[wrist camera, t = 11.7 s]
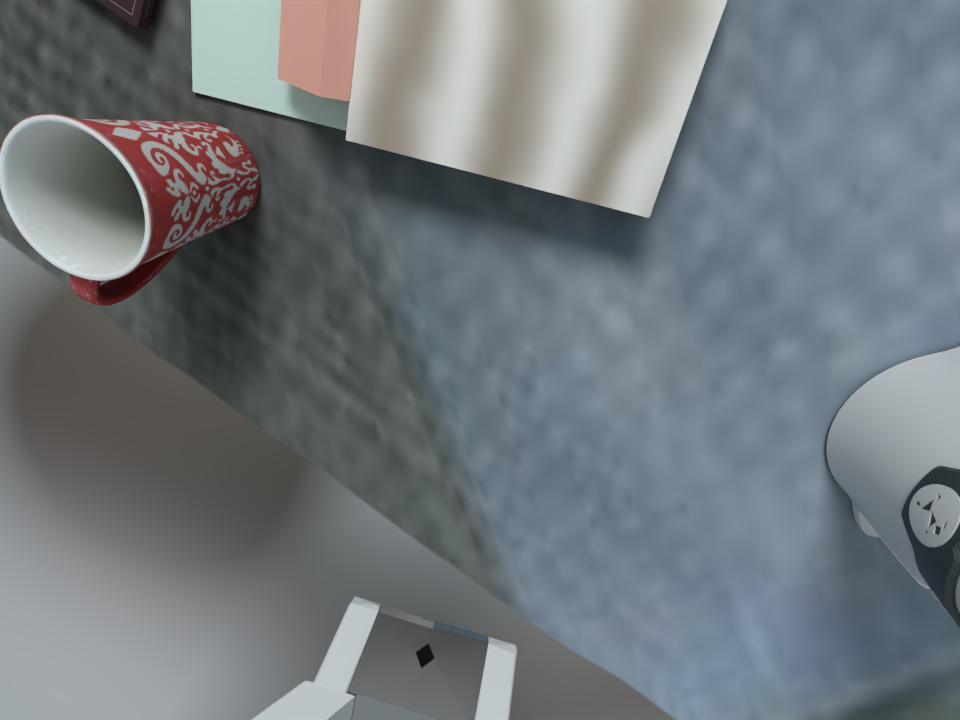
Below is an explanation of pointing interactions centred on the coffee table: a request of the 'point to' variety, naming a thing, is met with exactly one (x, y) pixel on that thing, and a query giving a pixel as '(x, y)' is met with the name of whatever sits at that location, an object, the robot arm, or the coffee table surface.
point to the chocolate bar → (131, 11)
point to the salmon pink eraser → (318, 45)
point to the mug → (121, 194)
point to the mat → (251, 61)
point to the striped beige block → (533, 89)
